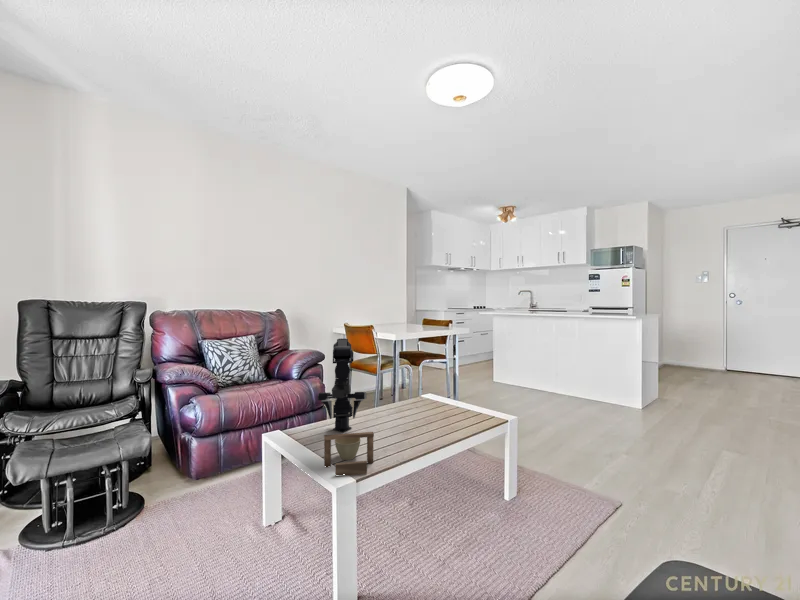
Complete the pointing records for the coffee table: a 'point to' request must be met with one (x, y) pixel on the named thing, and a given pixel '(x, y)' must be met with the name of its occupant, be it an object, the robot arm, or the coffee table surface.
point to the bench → (349, 467)
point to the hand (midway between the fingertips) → (342, 418)
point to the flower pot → (347, 447)
